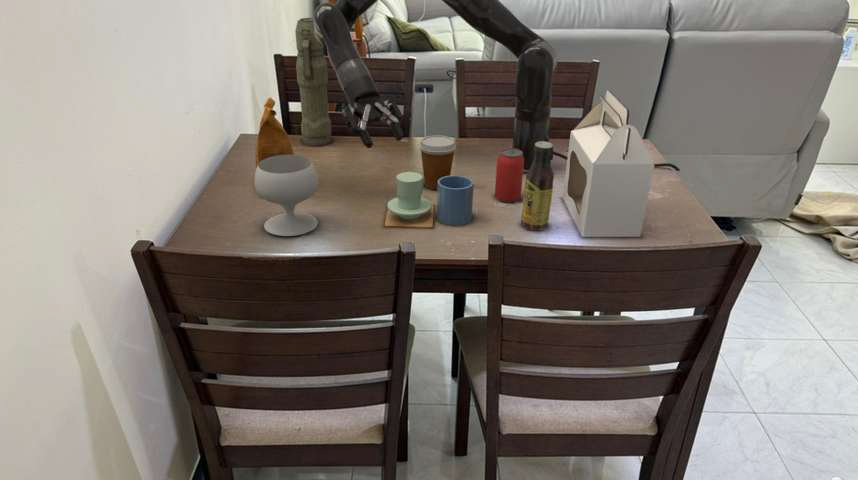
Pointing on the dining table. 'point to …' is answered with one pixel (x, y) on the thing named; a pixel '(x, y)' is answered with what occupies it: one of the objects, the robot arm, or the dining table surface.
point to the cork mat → (410, 220)
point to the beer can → (509, 175)
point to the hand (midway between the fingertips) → (385, 142)
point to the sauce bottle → (538, 188)
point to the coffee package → (271, 136)
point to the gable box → (607, 173)
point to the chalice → (287, 192)
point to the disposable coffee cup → (436, 158)
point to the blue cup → (454, 200)
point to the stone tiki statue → (312, 85)
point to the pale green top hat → (409, 197)
